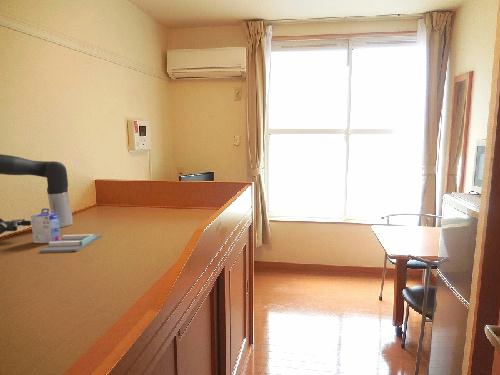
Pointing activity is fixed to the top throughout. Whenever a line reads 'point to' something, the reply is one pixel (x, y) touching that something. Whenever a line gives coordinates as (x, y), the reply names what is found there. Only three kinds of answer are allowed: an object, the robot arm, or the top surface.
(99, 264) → the top surface
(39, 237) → the ink cartridge box
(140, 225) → the top surface
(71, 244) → the rail plate
